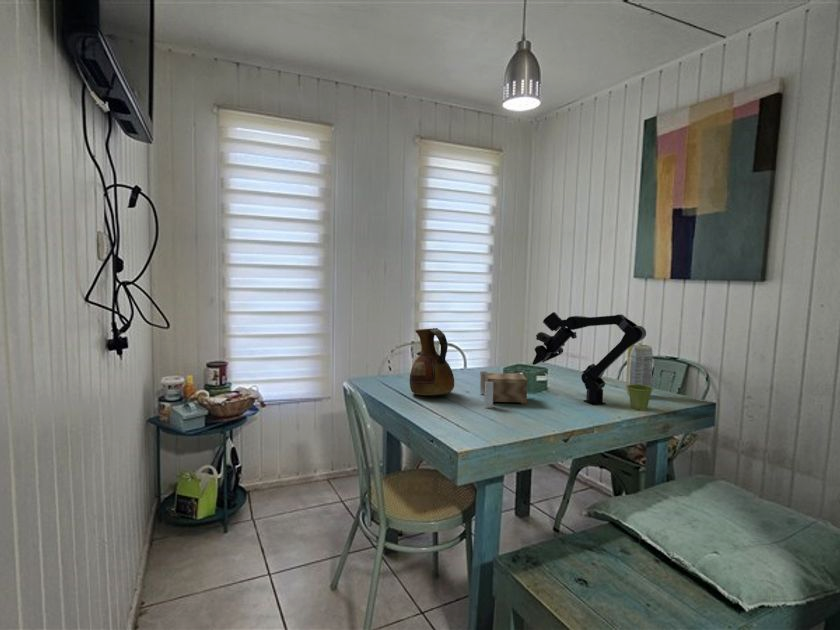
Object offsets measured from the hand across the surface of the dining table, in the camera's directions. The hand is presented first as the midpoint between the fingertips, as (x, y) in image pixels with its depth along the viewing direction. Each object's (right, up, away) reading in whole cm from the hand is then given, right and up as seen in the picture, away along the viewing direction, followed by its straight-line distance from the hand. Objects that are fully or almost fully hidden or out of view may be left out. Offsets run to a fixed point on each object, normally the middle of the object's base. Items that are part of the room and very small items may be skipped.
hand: (537, 362), depth 211 cm
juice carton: (+44, -15, -3) cm, 47 cm away
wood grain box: (-17, -15, -14) cm, 27 cm away
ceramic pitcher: (-48, -14, -6) cm, 51 cm away
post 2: (-26, -15, -25) cm, 39 cm away
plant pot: (+35, -16, -23) cm, 45 cm away
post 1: (-25, -14, -3) cm, 29 cm away
